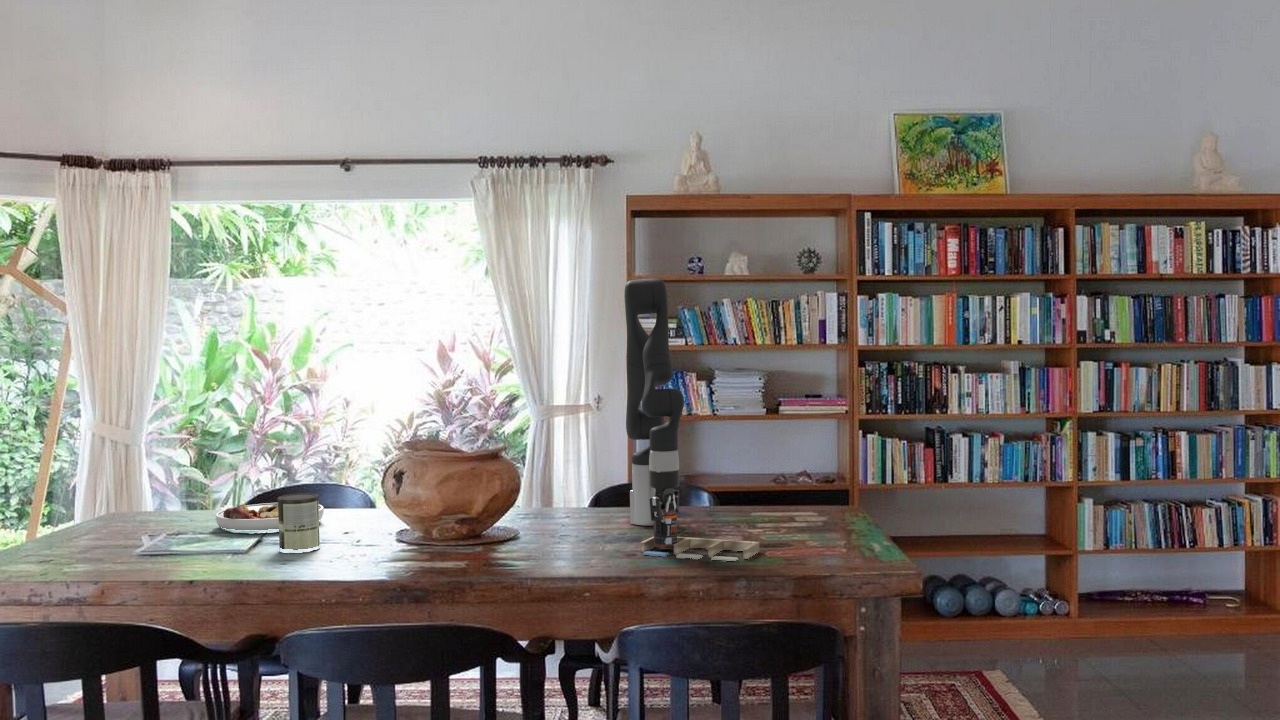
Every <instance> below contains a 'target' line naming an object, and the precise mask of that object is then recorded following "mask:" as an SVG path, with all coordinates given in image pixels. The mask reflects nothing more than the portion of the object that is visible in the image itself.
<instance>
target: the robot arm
mask: <svg viewBox="0 0 1280 720" xmlns="http://www.w3.org/2000/svg"><path fill="white" fill-rule="evenodd" d="M668 303H669V302H668V291H667V286H666V283H665V281H664V280H663V279H661V278H643V279H632V280H629V281H627V282H626V283H625V287H624V309H625V311H624V312H625V321H626V353H625V354H626V360H625V361H626V383H627V385H626V387H627V388H626V389H627V398H626V400H627V401H626V412H625V413H626V415H625V417H626V418H625V429H626V435H627V437H628V438H629V439H630V440H633V441H635V440H637V441H638V440H639V441H643V440H645V441H646V440H647V441H648V440H649V446H648V447H646V448H644V449H641V450H638V451H636V452H634V453H633V454H632V456H631V471H632V472H631V473H632V475H631V476H632V489H631V490H630V491H629V511H630V513H629V516H630V517H629V518H630V524H632V525H636V526H646V527H647V526H654V522H656V537H664V536H665V522H664V521H665V515H666V514H667V513H668V508H669V503H670V502H673V509H674V510H675V511H676V512H677V515H678V514H679V512H680V490H679V489H676V488H678V487H679V486H680V458H679V448H678V447H679V445H678V444H679V443H678V441H679V440H678V436H679V435H678V432H679V426H680V420H681V417H682V415H683V412H684V405H685V397H684V395H683V393H682V391H681V390H679V389H678V388H657V387H660V386H663V385H666V384H668V383H670V382H671V381H672V379H673V367H672V360H671V356H670V355H671V354H670V343H669V342H670V341H669V335H670V334H669V307H668V306H669V304H668ZM652 314H656V321H655V323H654V326H653V329H652V331H651V332H650V335H649V334H648V332H646V330H645V328H644V327H643V326H642V324H641V321H640V320H639V317H638V316H639V315H652ZM640 404H641V405H640ZM640 406H641V407H640ZM666 417H667V418H668V419H667V421H666V422H665V418H666ZM654 512H655V516H654Z"/></svg>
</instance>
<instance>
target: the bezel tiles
mask: <svg viewBox="0 0 1280 720" xmlns="http://www.w3.org/2000/svg"><path fill="white" fill-rule="evenodd" d="M644 555H649V556H648V557H658V556H661V557H662V558H666V557H668V556H669V555H670V553H669V552H665V551H663V552H662V551H651V550H648V551H646V552H644V553H643V552H642V556H644ZM667 555H668V556H667ZM675 556H676V559H685V558H690V560H698V559H700V558H701V559H703V558H704V555H703V554H692V553H680V554H678V555H675ZM661 557H660V558H661ZM702 557H703V558H702ZM691 558H692V559H691ZM701 559H700V560H701ZM710 559H711V561H712V560H726V561H736V560H738V561H739V557H736V556H735V557H733V556H722V555H720V556H719V555H715V556H714V557H710ZM726 561H725V562H726ZM736 562H737V561H736Z"/></svg>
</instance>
